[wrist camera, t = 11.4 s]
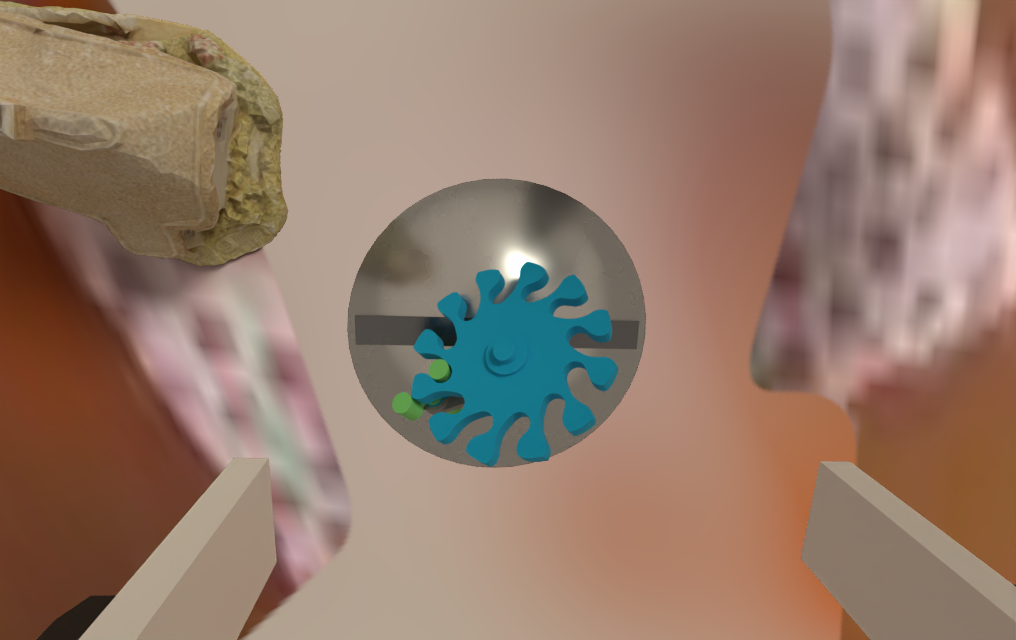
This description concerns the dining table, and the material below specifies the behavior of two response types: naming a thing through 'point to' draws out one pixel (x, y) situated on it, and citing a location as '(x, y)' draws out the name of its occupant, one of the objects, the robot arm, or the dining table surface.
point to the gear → (508, 365)
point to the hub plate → (453, 268)
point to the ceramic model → (140, 131)
